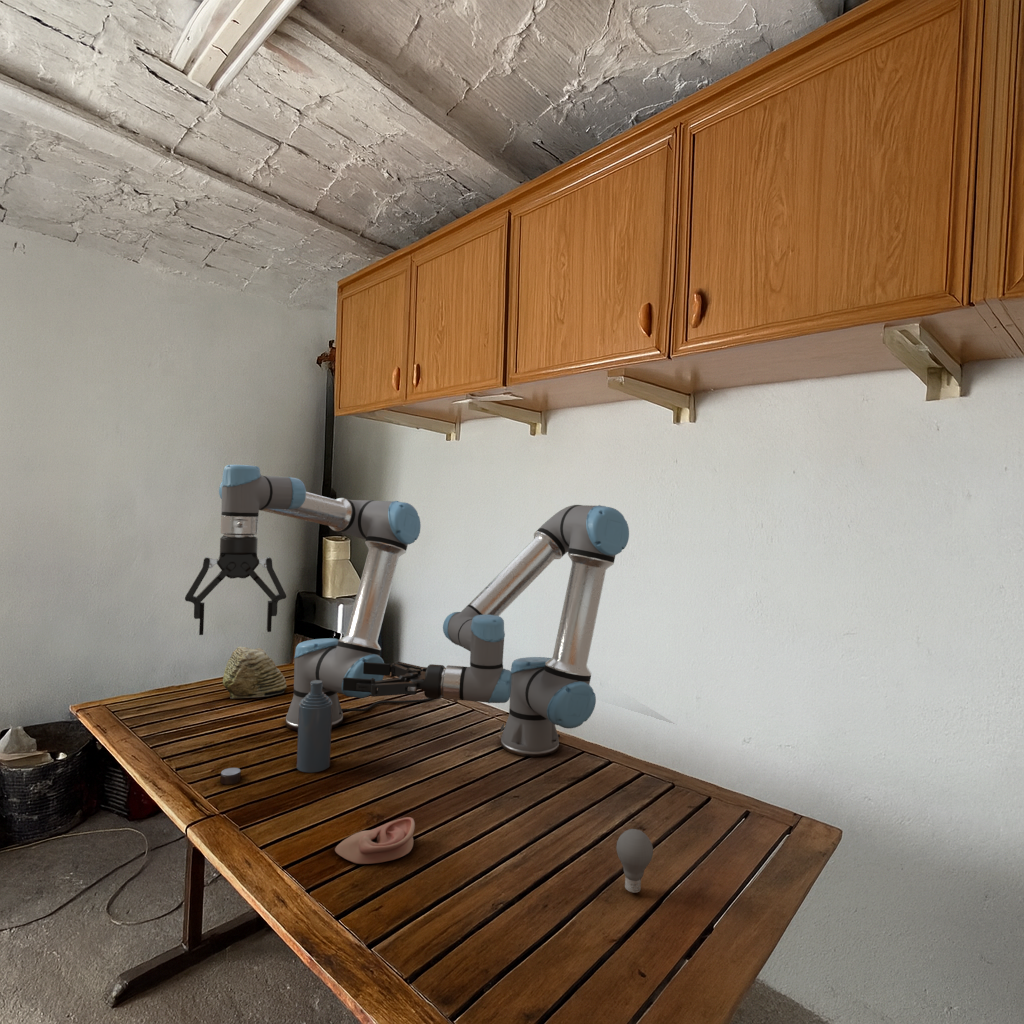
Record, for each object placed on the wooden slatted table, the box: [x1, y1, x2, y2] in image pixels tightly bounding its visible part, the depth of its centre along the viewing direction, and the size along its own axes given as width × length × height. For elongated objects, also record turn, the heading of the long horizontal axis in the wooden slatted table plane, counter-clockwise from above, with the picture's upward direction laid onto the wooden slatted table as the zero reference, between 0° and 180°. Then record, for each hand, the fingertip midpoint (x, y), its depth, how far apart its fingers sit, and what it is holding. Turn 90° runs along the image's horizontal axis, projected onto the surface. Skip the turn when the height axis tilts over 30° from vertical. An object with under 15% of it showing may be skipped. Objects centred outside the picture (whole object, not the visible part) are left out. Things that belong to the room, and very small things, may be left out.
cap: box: [219, 767, 242, 786], centre depth 139 cm, size 4×4×2 cm
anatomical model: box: [334, 816, 416, 865], centre depth 115 cm, size 13×4×12 cm
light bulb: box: [615, 828, 654, 894], centre depth 106 cm, size 6×6×10 cm
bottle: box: [296, 680, 332, 774], centre depth 149 cm, size 8×8×20 cm
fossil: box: [222, 646, 288, 699], centre depth 198 cm, size 9×18×15 cm, turn 132°
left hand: (235, 632), depth 139 cm, fingers open, 13 cm apart
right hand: (354, 675), depth 147 cm, fingers open, 13 cm apart
